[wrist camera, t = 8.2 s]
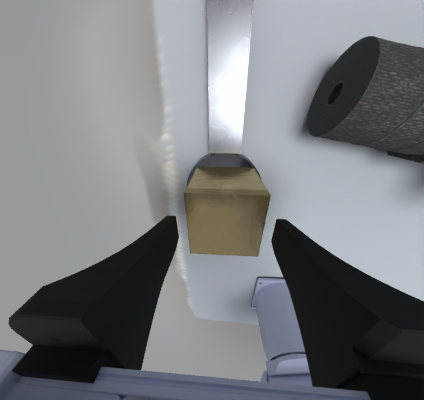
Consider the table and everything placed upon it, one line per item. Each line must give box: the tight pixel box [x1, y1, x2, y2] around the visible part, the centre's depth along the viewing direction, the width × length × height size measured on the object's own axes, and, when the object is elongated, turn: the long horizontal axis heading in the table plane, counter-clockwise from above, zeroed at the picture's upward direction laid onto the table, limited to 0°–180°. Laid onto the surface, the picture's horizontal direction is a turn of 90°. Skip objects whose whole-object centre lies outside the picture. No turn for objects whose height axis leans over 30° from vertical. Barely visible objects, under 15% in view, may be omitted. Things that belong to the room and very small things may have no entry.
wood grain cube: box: [184, 166, 270, 256], centre depth 14 cm, size 6×6×6 cm
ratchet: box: [187, 0, 261, 186], centre depth 12 cm, size 22×8×5 cm, turn 0°
